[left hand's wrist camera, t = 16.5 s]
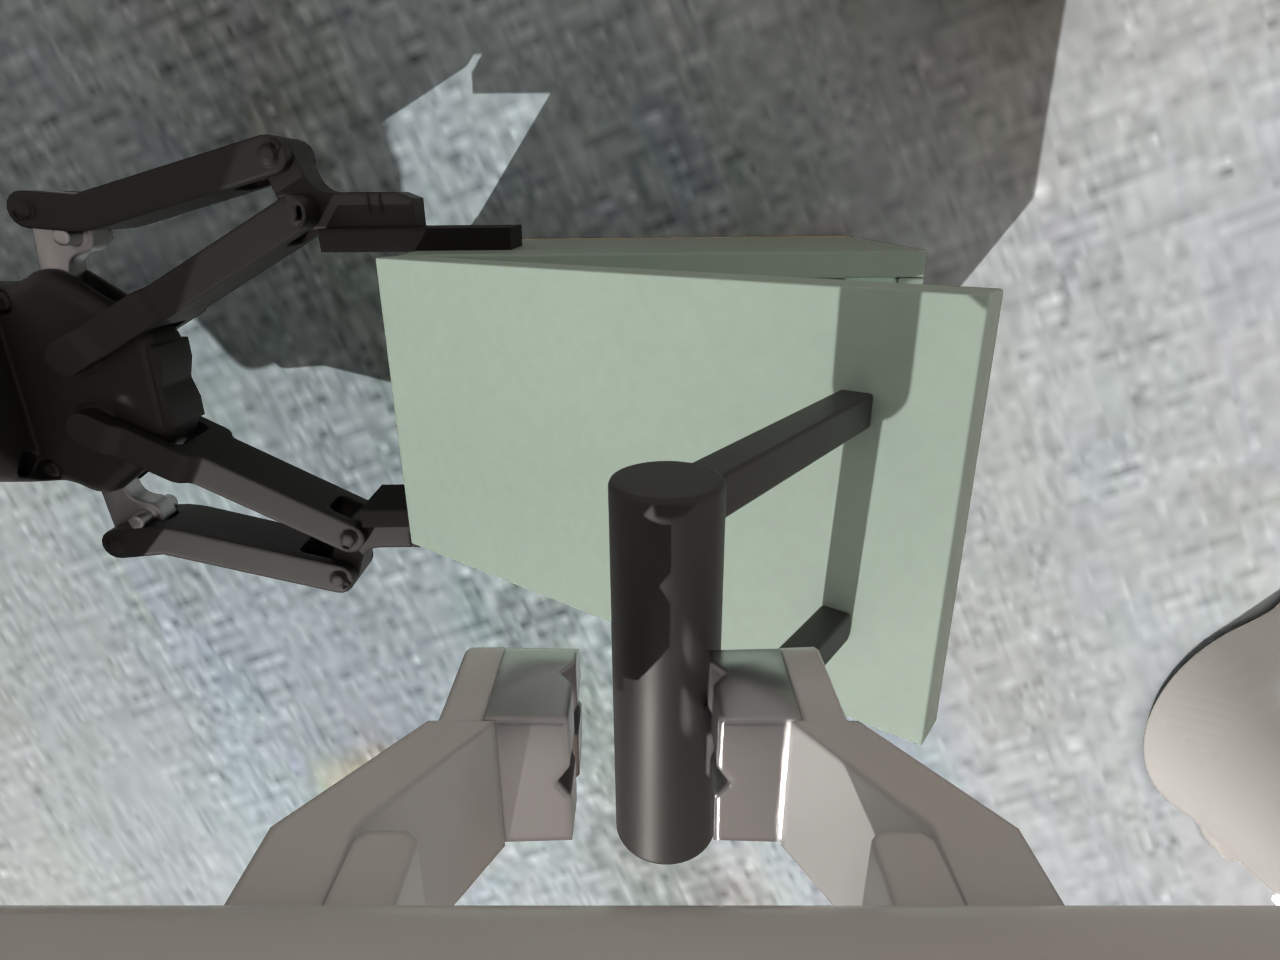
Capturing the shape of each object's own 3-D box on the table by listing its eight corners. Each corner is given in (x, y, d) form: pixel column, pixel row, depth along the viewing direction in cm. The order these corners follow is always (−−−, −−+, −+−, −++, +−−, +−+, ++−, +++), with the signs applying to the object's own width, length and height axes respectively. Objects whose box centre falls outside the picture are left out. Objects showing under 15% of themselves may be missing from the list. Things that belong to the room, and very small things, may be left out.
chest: (848, 235, 33) (928, 249, 24) (830, 444, 36) (895, 527, 27) (462, 239, 33) (395, 254, 24) (481, 447, 36) (427, 531, 27)
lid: (1004, 288, 14) (803, 369, 7) (936, 720, 17) (758, 1030, 11) (404, 255, 24) (99, 277, 17) (435, 532, 27) (190, 636, 21)
